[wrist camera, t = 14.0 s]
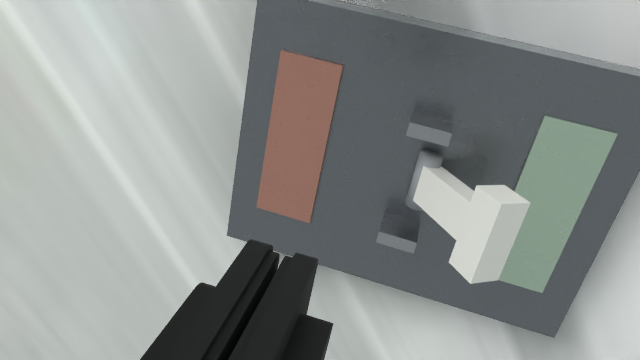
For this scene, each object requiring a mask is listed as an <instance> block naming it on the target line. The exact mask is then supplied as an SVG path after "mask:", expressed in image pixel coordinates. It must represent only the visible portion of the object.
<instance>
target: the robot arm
mask: <svg viewBox="0 0 640 360" xmlns="http://www.w3.org/2000/svg"><path fill="white" fill-rule="evenodd" d="M278 263H279V254H278V253H275V252H273V246H272V245H270V244H266V243H263V242H260V241H256V240H253V239H250V240H249V241H248V242H247V243H246V245H245V246H244V248H243V249H242V250H241V252H240V253H239V255H238V256H237V258H236V259H235V260H234V262H233V263H232V265H231V266H230V267H229V269H228V270H227V272H226V273H225V275H224V276H223V277H222V279H221V280H220V282H219V283H218V284H217V286H216V287H215V286H212V285H208V284H205V283H200V284H198V285H197V286H196V287H195V289H194V290H193V291H192V293H191V294H190V295H189V296H188V298H187V299H186V300H185V302H184V303H183V304H182V306H181V307H180V308H179V309H178V311H177V312H176V313H175V315H174V316H173V317H172V319H171V320H170V321H169V323H168V324H167V325H166V326H165V328H164V329H163V330H162V332H161V333H160V334H159V336H158V337H157V338H156V340H155V341H154V342H153V343H152V345H151V346H150V347H149V349H148V350H147V351H146V353H145V354H144V355H143V356H142V358H141V359H140V360H324V358H325V354H326V350H327V346H328V342H329V339H330V335H331V331H332V326H333V323H330V322H327V321H324V320H321V319H317V318H314V317H311V316H308V315H307V310H308V306H309V301H310V296H311V292H312V287H313V283H314V278H315V274H316V269H317V265H318V259H317V258H314V257H310V256H307V255H304V254H300V253H297V252H296V253H295V254H294V256H293V258H292V257H288V256H285V257H284V259H283V261H282V262H281V264H280V266H279V268H278ZM277 268H278V270H277Z"/></svg>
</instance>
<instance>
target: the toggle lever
mask: <svg viewBox="0 0 640 360" xmlns="http://www.w3.org/2000/svg"><path fill="white" fill-rule="evenodd" d="M442 161H443V156H441V155H440V154H438V153H436V152H433V151H429V150H422V151H420V154H419V157H418V160H417V164H416V167H415V170H414V174H413V177H412V180H411V184H410V187H409V190H408V194H407V197H406V200H405V204H406V205H407V206H408V207H409V208H411V209H414V210H417V211H425V212H426V213H427V214H428V215H429V216H430V217H431V218H433V219H434V220H435V221H436V222H437V223H438V224H439V225H440V226H441V227H442V228H443V229H444V230H446V231H447V232H448V233H449V234H450V235H451V236H452V237H453V238H454V239H455V240H456V243H455V246H454V249H453V251H452V254H451V257H450V260H449V263H450V264H451V265H452V266H453V267H454V268H455V269H456V270H457V271H458V272H459V273H460V274H461V275H462V276H463V277H464V278H465V279H466V280H467V281H468V282H469V283H470V284H473V283H481V282H489V281H497V280H498V279H499V277H500V274H501V272H502V270H503V267H504V265H505V263H506V260H507V258H508V255H509V253H510V251H511V248H512V246H513V244H514V241H515V239H516V236H517V234H518V232H519V229H520V227H521V225H522V222H523V220H524V217H525V215H526V213H527V210H528V208H529V206H530V202H529V201H527V200H526V199H524V198H523V197H521V196H520V195H518V194H517V193H516V192H514V191H513V190H511V189H510V188H508V187H507V186H505V185H476V188H475V191H473V190H472V189H471V188H469V187H468V186H467V185H465V184H464V183H463V182H461V181H460V180H459V179H457V178H456V177H455V176H453V175H452V174H451V173H450V172H448V171H447V170H446V169H444V168H443V167H442V166H441V164H442Z"/></svg>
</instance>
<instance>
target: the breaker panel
mask: <svg viewBox="0 0 640 360" xmlns="http://www.w3.org/2000/svg"><path fill="white" fill-rule="evenodd" d="M422 150H429V151H433V152H436V153H438V154H440V155H441V156H443V161H442V164H441V166H442V167H443V168H444V169H446V170H447V171H448V172H450V173H451V174H452V175H453V176H455V177H456V178H457V179H459V180H460V181H461V182H463V183H464V184H465V185H467V186H468V187H469V188H471V189H472V190H473V191H475V188H476V185H505V186H507V187H508V188H510V189H511V190H513V191H514V192H516V193H517V194H518V195H520V196H521V197H523V198H524V199H526V200H527V201H529V202H530V206H529V208H528V210H527V213H526V215H525V217H524V220H523V222H522V225H521V227H520V229H519V232H518V234H517V236H516V239H515V241H514V244H513V246H512V248H511V251H510V253H509V255H508V258H507V260H506V263H505V265H504V267H503V270H502V272H501V274H500V277H499V279H498V280H497V281H489V282H481V283H473V284H470V283H469V282H468V281H467V280H466V279H465V278H464V277H463V276H462V275H461V274H460V273H459V272H458V271H457V270H456V269H455V268H454V267H453V266H452V265H451V264H450V263H449V260H450V257H451V254H452V251H453V249H454V246H455V243H456V240H455V239H454V238H453V237H452V236H451V235H450V234H449V233H448V232H447V231H446V230H444V229H443V228H442V227H441V226H440V225H439V224H438V223H437V222H436V221H435V220H434V219H433V218H431V217H430V216H429V215H428V214H427V213H426V212H425V211H417V210H414V209H411V208H409V207H408V206H407V205H406V204H405V200H406V197H407V194H408V190H409V187H410V184H411V180H412V177H413V174H414V170H415V167H416V164H417V160H418V157H419V154H420V151H422ZM639 170H640V69H637V68H632V67H628V66H623V65H619V64H615V63H610V62H606V61H601V60H597V59H593V58H588V57H584V56H579V55H575V54H571V53H566V52H562V51H557V50H553V49H549V48H544V47H540V46H535V45H531V44H527V43H522V42H518V41H513V40H509V39H505V38H500V37H496V36H491V35H487V34H483V33H478V32H474V31H469V30H465V29H461V28H456V27H452V26H447V25H443V24H439V23H434V22H430V21H425V20H421V19H417V18H412V17H408V16H403V15H399V14H395V13H390V12H386V11H382V10H377V9H373V8H368V7H364V6H360V5H355V4H351V3H346V2H342V1H338V0H257V8H256V16H255V23H254V31H253V39H252V47H251V54H250V62H249V70H248V77H247V85H246V93H245V101H244V108H243V116H242V124H241V131H240V139H239V147H238V155H237V162H236V170H235V178H234V185H233V193H232V201H231V209H230V216H229V224H228V232H227V236H230V237H233V238H237V239H240V240H243V241H246V242H248V241H249V240H250V239H253V240H256V241H260V242H263V243H266V244H270V245H272V246H273V250H275V251H278V252H281V253H285V254H288V255H291V256H294V254H295V253H296V252H297V253H300V254H304V255H307V256H310V257H314V258H317V259H318V264H320V265H323V266H326V267H329V268H333V269H336V270H339V271H342V272H345V273H349V274H352V275H355V276H358V277H361V278H365V279H368V280H371V281H374V282H377V283H381V284H384V285H387V286H390V287H393V288H397V289H400V290H403V291H406V292H409V293H413V294H416V295H419V296H422V297H425V298H429V299H432V300H435V301H438V302H441V303H445V304H448V305H451V306H454V307H457V308H461V309H464V310H467V311H470V312H473V313H477V314H480V315H483V316H486V317H489V318H493V319H496V320H499V321H502V322H505V323H509V324H512V325H515V326H518V327H521V328H525V329H528V330H531V331H534V332H537V333H541V334H544V335H547V336H550V337H553V338H554V337H555V335H556V333H557V331H558V329H559V327H560V325H561V323H562V321H563V319H564V317H565V315H566V313H567V311H568V309H569V307H570V305H571V304H572V302H573V300H574V298H575V296H576V294H577V292H578V290H579V288H580V286H581V284H582V282H583V280H584V278H585V276H586V274H587V272H588V270H589V268H590V266H591V264H592V262H593V260H594V259H595V257H596V255H597V253H598V251H599V249H600V247H601V245H602V243H603V241H604V239H605V237H606V235H607V233H608V231H609V229H610V227H611V225H612V223H613V221H614V219H615V217H616V215H617V214H618V212H619V210H620V208H621V206H622V204H623V202H624V200H625V198H626V196H627V194H628V192H629V190H630V188H631V186H632V184H633V182H634V180H635V178H636V176H637V174H638V172H639Z"/></svg>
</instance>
